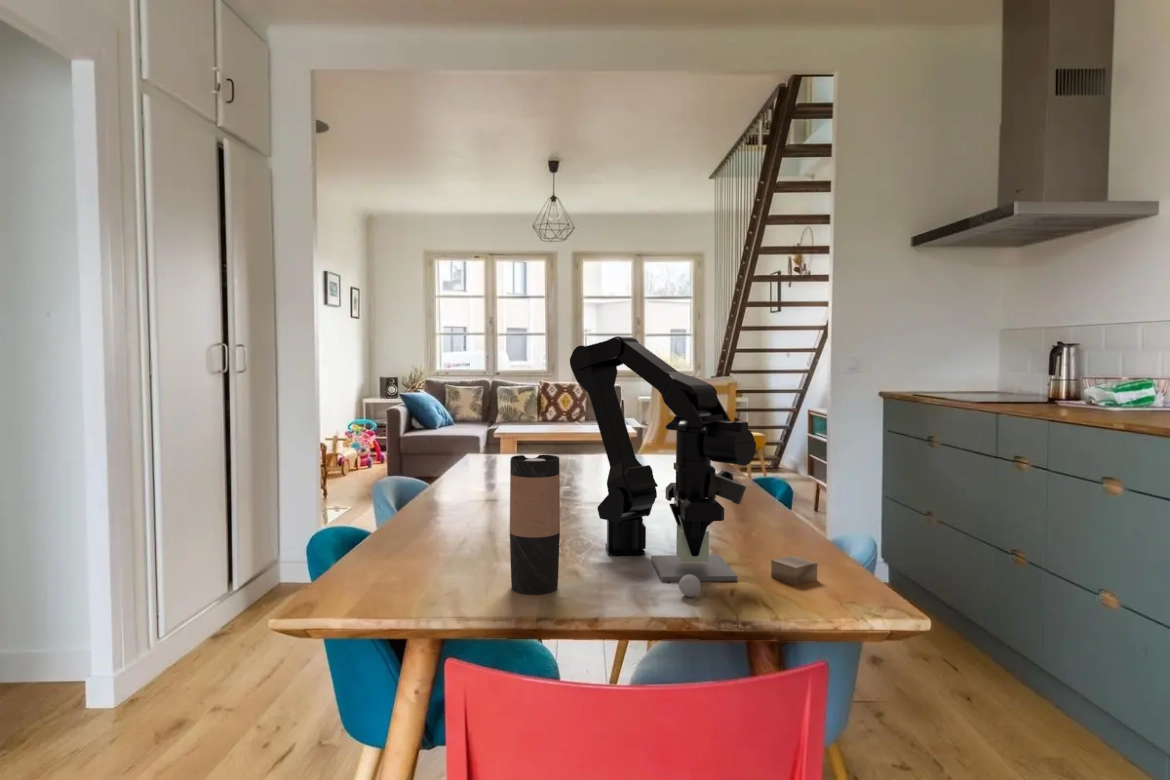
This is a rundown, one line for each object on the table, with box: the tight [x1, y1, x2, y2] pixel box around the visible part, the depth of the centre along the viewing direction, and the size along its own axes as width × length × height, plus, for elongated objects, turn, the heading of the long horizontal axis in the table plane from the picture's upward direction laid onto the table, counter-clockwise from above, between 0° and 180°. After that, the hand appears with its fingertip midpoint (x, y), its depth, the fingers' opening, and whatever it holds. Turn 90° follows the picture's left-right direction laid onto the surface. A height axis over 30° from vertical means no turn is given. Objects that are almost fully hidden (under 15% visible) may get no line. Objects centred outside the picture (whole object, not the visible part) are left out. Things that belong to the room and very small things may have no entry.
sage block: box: [675, 524, 710, 562], centre depth 119 cm, size 4×4×5 cm
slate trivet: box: [650, 554, 738, 583], centre depth 119 cm, size 12×12×1 cm
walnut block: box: [770, 555, 818, 586], centre depth 115 cm, size 5×5×3 cm
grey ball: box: [678, 575, 702, 598], centre depth 106 cm, size 3×3×3 cm
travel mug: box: [509, 454, 561, 596], centre depth 109 cm, size 8×8×20 cm
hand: (692, 552), depth 119 cm, fingers closed on sage block, 4 cm apart
